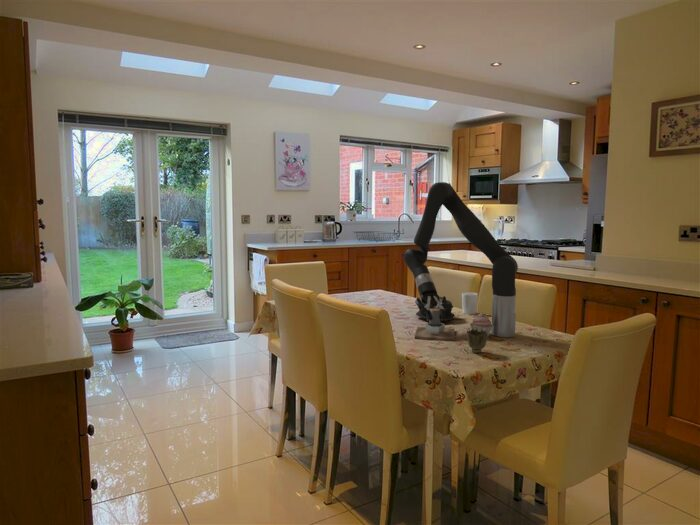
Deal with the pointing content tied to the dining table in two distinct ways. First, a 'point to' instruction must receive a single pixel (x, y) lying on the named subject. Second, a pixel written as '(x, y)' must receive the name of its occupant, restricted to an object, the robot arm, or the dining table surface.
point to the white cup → (469, 303)
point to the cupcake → (482, 323)
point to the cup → (477, 340)
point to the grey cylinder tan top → (435, 317)
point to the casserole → (448, 316)
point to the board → (446, 336)
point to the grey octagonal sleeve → (435, 329)
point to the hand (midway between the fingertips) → (437, 318)
